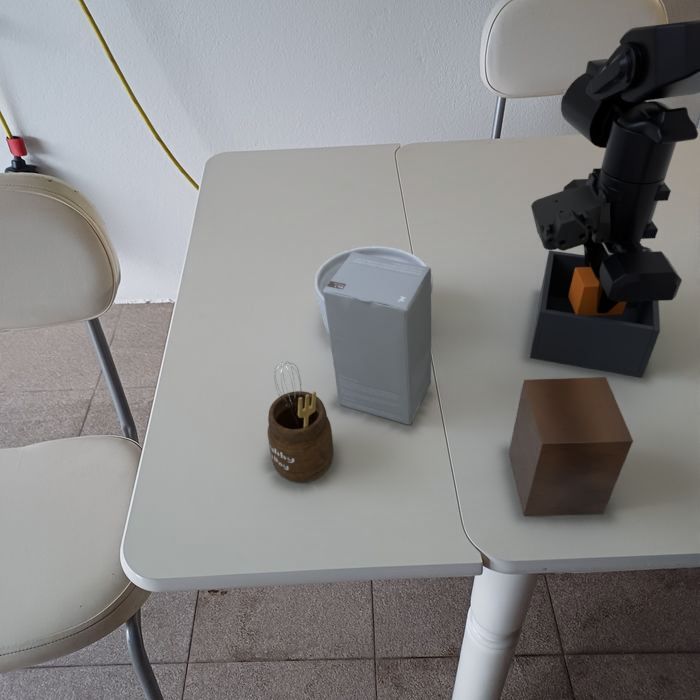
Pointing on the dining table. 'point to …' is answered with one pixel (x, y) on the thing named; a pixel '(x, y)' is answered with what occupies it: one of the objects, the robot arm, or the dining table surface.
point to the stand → (567, 446)
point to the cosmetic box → (380, 335)
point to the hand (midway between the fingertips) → (596, 301)
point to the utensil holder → (299, 435)
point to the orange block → (588, 294)
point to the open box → (590, 326)
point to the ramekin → (337, 261)
